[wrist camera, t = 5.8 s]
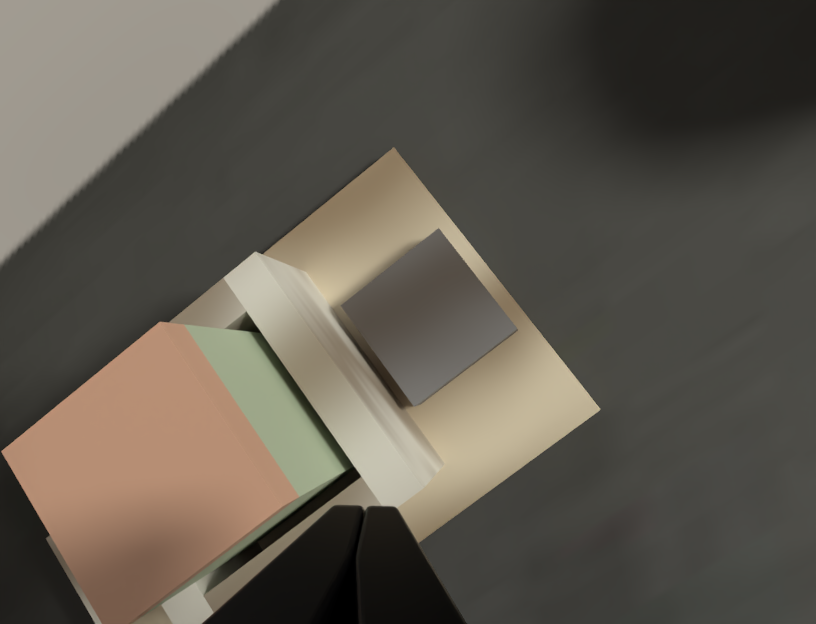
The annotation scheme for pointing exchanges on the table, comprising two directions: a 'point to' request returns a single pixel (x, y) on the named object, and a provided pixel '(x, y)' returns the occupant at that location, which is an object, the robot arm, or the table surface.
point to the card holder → (389, 365)
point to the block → (173, 464)
